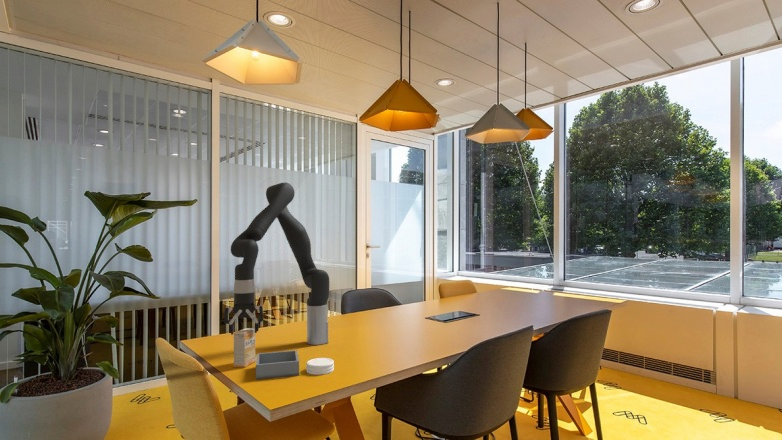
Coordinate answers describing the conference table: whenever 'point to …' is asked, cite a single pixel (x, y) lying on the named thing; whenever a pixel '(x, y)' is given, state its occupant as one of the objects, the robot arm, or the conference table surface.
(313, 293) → the robot arm
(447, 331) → the conference table surface
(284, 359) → the bin
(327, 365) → the white short cylinder
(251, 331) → the supplement box
